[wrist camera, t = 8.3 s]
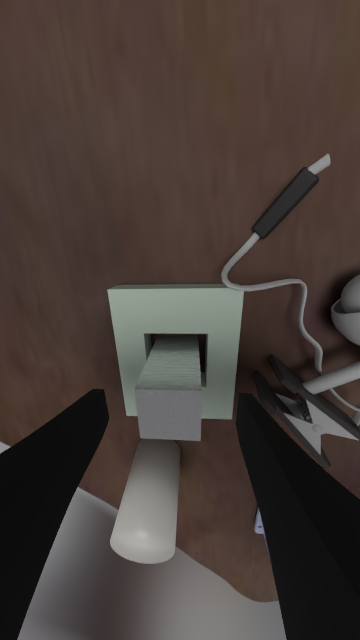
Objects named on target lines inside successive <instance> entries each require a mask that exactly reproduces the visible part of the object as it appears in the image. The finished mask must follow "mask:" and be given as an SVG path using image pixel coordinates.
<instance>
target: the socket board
mask: <svg viewBox="0 0 360 640" xmlns="http://www.w3.org/2000/svg"><path fill="white" fill-rule="evenodd" d="M236 285H239V284H236ZM243 295H244V291H236V290H234V289H231V288H228V287H227V286H226V285H225V284H157V285H117V286H115V287H112V288H110V289H108V296H109V302H110V309H111V316H112V322H113V329H114V335H115V342H116V349H117V355H118V362H119V368H120V375H121V382H122V388H123V395H124V401H125V408H126V414H127V416H138V415H137V407H136V399H135V391H134V389H135V386H136V384H137V382H138V380H139V377H140V375H141V373H142V370H143V368H144V366H145V363H146V361H147V359H148V357H149V354H150V352H151V350H152V344H151V333H168V334H206V343H205V372H201V386H202V405H201V418H205V419H232V412H233V402H234V391H235V380H236V370H237V359H238V348H239V338H240V327H241V317H242V306H243Z"/></svg>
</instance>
